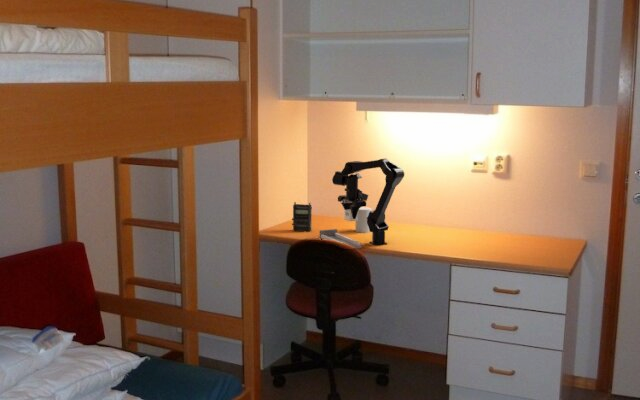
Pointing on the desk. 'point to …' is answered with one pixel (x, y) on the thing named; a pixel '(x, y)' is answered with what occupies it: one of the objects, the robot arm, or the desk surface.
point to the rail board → (338, 238)
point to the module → (350, 215)
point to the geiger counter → (301, 217)
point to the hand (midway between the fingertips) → (351, 217)
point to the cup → (362, 220)
